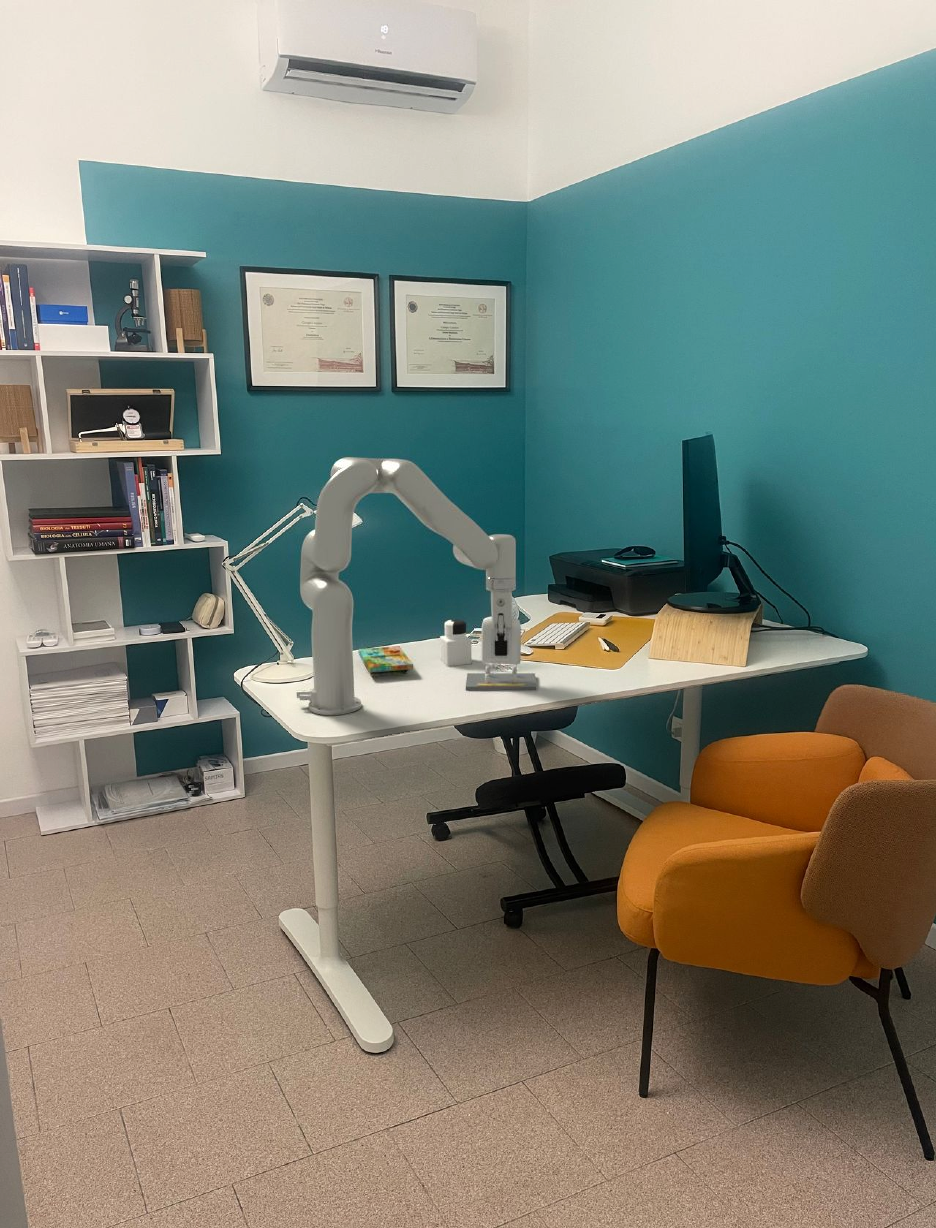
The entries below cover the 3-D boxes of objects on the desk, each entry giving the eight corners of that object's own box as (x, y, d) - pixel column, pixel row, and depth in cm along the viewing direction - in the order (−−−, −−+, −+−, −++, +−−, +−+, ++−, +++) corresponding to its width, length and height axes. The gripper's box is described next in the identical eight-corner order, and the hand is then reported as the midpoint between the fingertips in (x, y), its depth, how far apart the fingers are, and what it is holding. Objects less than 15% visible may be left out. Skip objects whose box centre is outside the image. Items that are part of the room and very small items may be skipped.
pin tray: (465, 690, 239) (465, 677, 238) (467, 676, 251) (467, 664, 250) (536, 690, 238) (536, 677, 238) (534, 676, 250) (535, 664, 249)
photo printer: (522, 661, 244) (522, 615, 242) (519, 665, 240) (519, 618, 238) (483, 659, 246) (482, 613, 244) (480, 664, 242) (479, 617, 240)
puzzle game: (399, 643, 269) (413, 661, 250) (399, 659, 270) (413, 678, 251) (358, 646, 266) (369, 664, 247) (358, 662, 267) (370, 681, 248)
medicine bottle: (463, 657, 270) (463, 617, 267) (471, 664, 263) (471, 622, 260) (440, 660, 267) (439, 619, 265) (447, 666, 261) (446, 624, 258)
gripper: (516, 589, 230) (516, 661, 234) (515, 577, 247) (515, 644, 251) (485, 590, 231) (485, 661, 235) (486, 577, 247) (487, 644, 251)
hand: (501, 651), depth 243 cm, fingers closed on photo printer, 4 cm apart
